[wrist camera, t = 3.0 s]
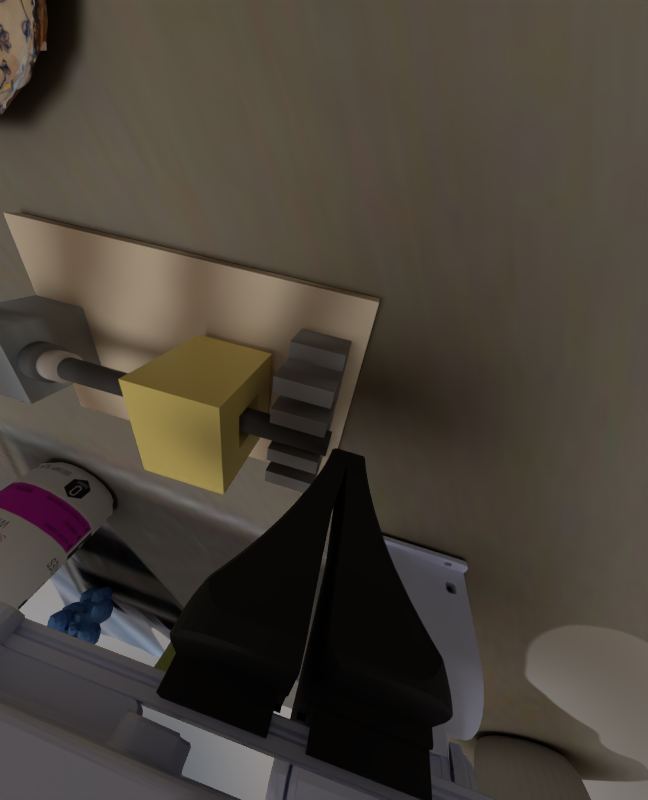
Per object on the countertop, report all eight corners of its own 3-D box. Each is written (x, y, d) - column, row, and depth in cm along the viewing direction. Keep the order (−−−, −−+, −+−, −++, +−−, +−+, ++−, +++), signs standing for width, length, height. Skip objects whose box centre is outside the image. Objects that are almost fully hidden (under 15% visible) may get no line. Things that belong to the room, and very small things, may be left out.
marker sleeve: (271, 353, 14) (219, 408, 10) (266, 428, 17) (223, 494, 13) (198, 334, 14) (117, 379, 10) (205, 410, 17) (144, 469, 13)
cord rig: (379, 298, 13) (372, 334, 8) (330, 471, 19) (313, 538, 15) (21, 212, 14) (-133, 207, 10) (91, 400, 21) (16, 443, 17)
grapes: (111, 572, 41) (21, 681, 31) (141, 596, 44) (67, 703, 34) (69, 572, 46) (-21, 667, 36) (99, 593, 49) (23, 687, 39)
